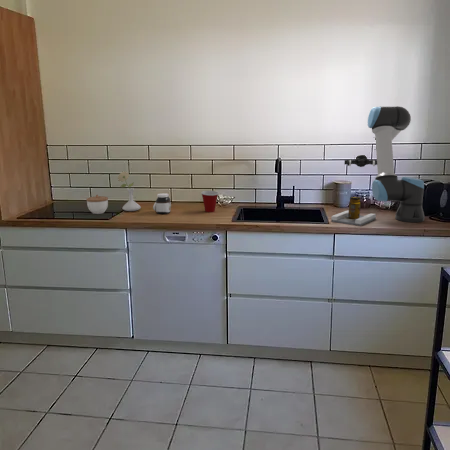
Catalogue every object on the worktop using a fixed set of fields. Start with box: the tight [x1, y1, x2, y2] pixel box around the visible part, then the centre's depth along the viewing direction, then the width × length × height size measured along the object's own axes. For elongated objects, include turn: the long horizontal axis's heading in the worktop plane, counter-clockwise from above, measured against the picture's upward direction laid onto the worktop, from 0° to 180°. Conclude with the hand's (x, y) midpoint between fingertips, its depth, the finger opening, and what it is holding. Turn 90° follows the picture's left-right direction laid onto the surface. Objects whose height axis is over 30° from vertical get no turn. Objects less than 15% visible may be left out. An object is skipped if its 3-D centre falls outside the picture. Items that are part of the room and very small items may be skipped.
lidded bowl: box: [86, 194, 109, 215], centre depth 278 cm, size 13×13×11 cm
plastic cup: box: [200, 190, 220, 213], centre depth 279 cm, size 11×11×12 cm
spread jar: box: [152, 192, 172, 215], centre depth 277 cm, size 12×11×12 cm
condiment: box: [344, 196, 361, 220], centre depth 252 cm, size 7×8×12 cm
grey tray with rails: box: [330, 209, 377, 227], centre depth 253 cm, size 17×20×3 cm
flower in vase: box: [117, 170, 142, 212], centre depth 282 cm, size 13×11×25 cm
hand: (362, 163), depth 269 cm, fingers open, 13 cm apart
